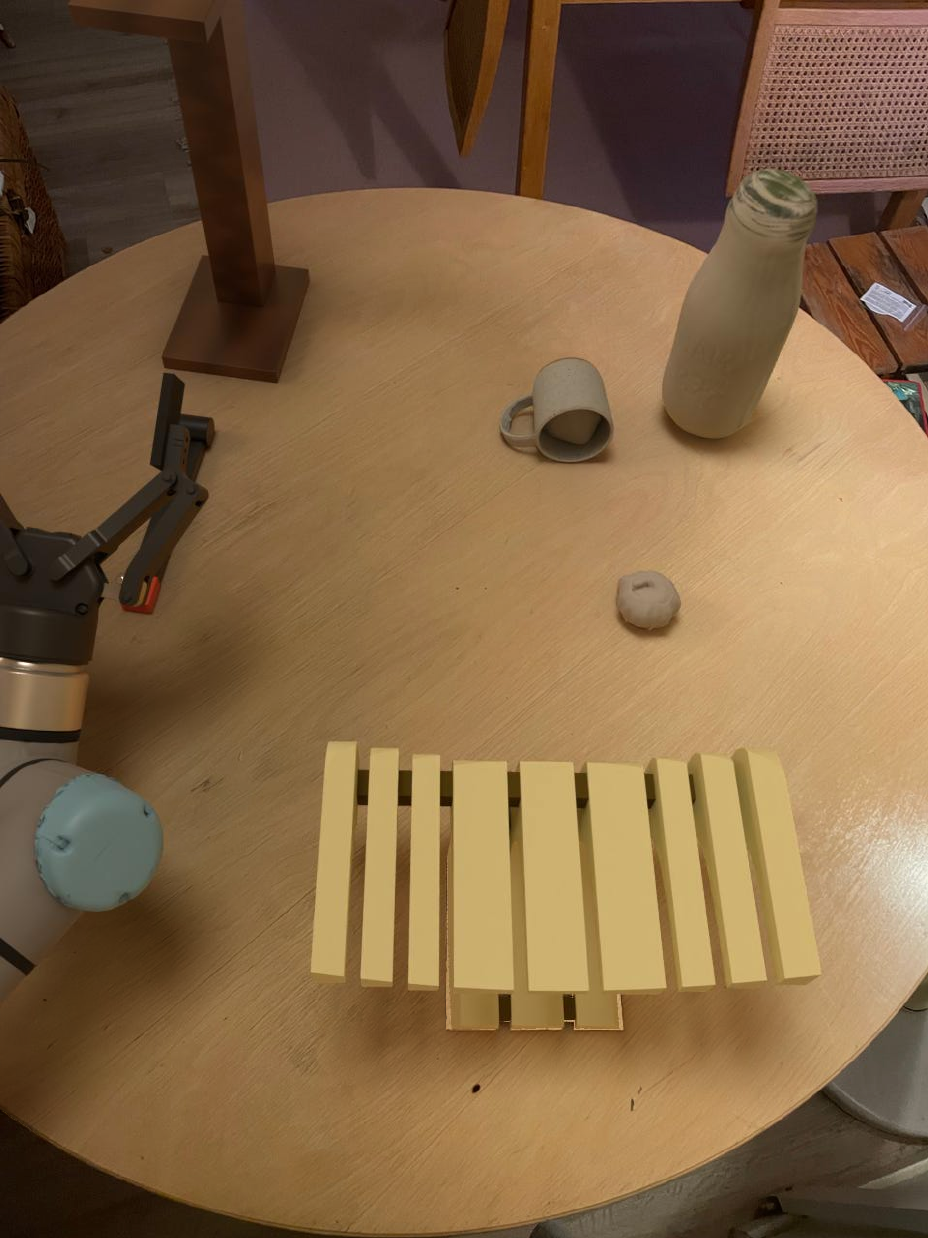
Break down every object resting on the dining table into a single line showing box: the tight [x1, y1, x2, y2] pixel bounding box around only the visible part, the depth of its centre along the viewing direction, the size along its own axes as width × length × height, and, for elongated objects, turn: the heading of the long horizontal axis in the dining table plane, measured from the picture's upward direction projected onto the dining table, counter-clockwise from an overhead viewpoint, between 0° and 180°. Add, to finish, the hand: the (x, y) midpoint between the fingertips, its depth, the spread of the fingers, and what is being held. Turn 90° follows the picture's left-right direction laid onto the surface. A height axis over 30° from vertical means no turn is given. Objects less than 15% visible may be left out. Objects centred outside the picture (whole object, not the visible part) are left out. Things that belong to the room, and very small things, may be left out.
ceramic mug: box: [499, 356, 615, 463], centre depth 103 cm, size 11×8×8 cm
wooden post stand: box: [67, 0, 311, 384], centre depth 95 cm, size 12×18×38 cm, turn 172°
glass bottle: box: [661, 167, 819, 439], centre depth 96 cm, size 10×10×28 cm
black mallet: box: [119, 413, 216, 615], centre depth 97 cm, size 3×22×3 cm, turn 173°
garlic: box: [616, 570, 682, 631], centre depth 93 cm, size 6×5×5 cm
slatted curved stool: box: [310, 740, 823, 1030], centre depth 72 cm, size 30×16×18 cm, turn 90°
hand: (80, 364), depth 73 cm, fingers open, 13 cm apart
